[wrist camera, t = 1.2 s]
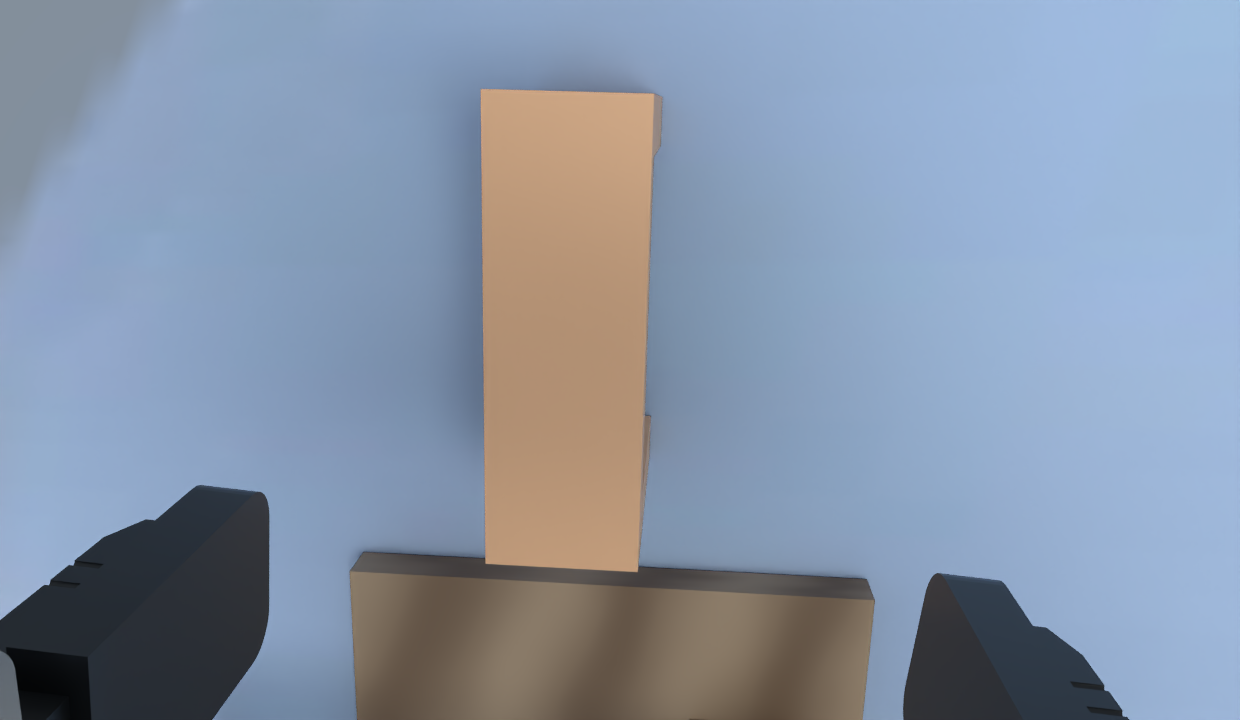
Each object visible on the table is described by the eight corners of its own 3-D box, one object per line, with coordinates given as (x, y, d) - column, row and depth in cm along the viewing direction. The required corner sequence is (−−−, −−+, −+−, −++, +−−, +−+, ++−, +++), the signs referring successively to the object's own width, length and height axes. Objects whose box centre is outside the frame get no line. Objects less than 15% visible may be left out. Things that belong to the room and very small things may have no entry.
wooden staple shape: (649, 457, 33) (637, 571, 25) (533, 451, 34) (485, 563, 25) (662, 97, 30) (653, 93, 22) (535, 93, 30) (480, 88, 22)
